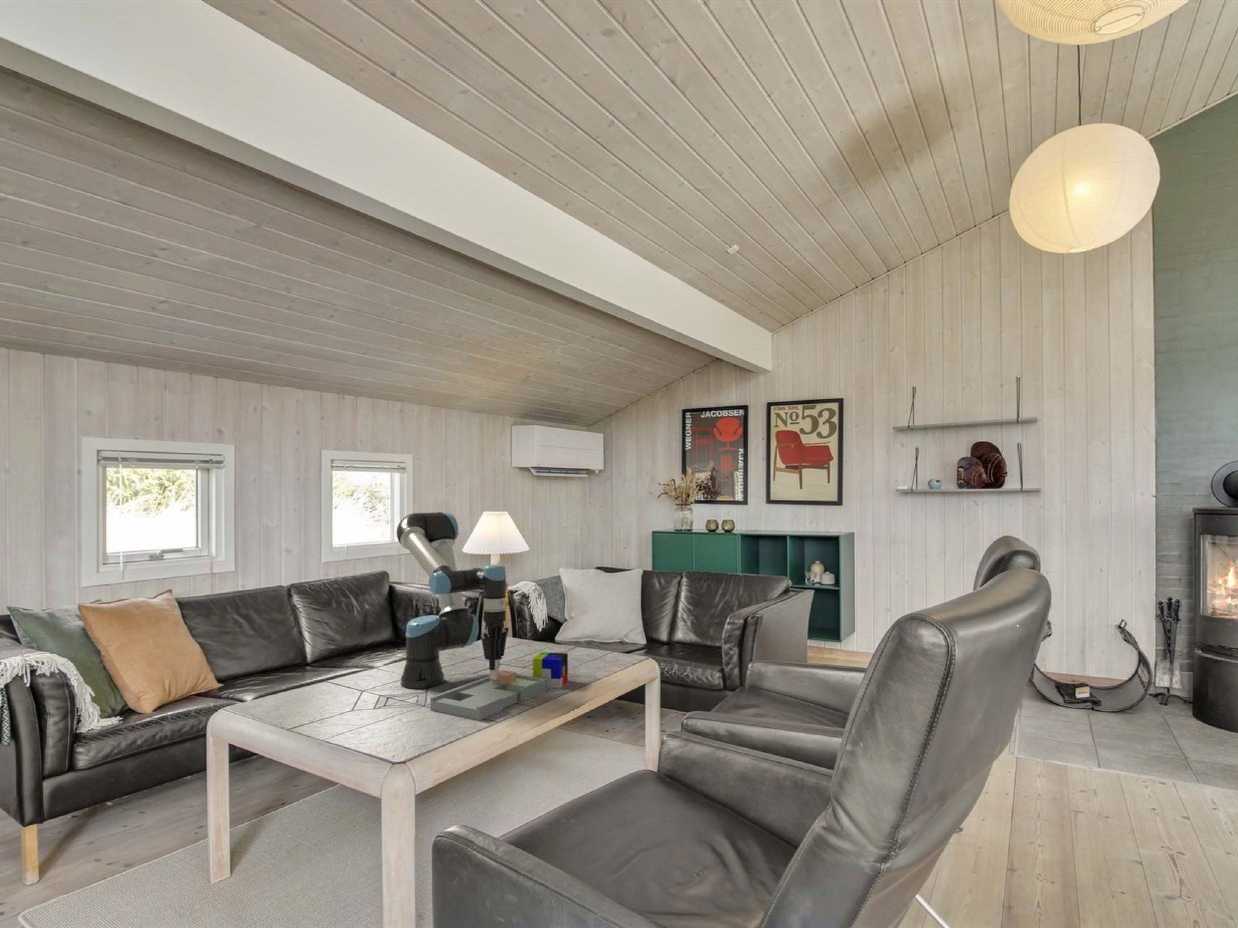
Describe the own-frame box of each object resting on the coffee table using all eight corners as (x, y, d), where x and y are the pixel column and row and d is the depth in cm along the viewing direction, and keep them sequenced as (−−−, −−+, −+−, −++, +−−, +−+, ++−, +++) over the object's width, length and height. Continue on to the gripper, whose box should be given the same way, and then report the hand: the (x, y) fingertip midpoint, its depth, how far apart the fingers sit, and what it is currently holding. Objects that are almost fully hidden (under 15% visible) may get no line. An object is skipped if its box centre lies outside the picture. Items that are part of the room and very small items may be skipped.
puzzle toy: (559, 688, 245) (559, 659, 245) (532, 686, 247) (532, 658, 247) (567, 680, 254) (567, 653, 255) (541, 679, 256) (541, 651, 257)
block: (491, 682, 241) (492, 673, 241) (503, 678, 246) (503, 669, 246) (505, 685, 238) (505, 676, 238) (516, 680, 243) (516, 672, 243)
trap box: (430, 709, 221) (430, 697, 221) (501, 682, 252) (501, 671, 252) (479, 720, 211) (479, 707, 211) (547, 690, 242) (547, 679, 242)
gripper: (490, 613, 233) (490, 684, 232) (515, 608, 244) (514, 675, 243) (473, 611, 237) (473, 681, 236) (498, 606, 248) (498, 673, 247)
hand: (494, 678), depth 240 cm, fingers closed
